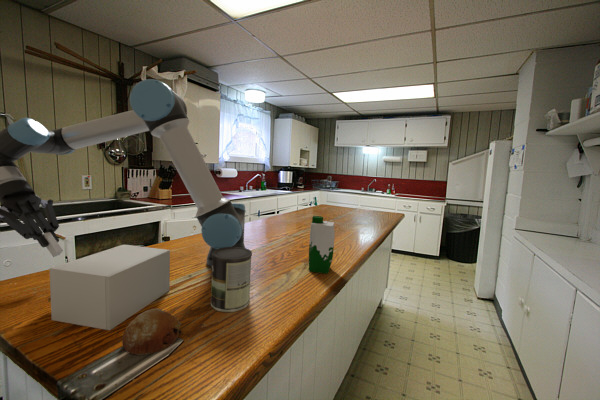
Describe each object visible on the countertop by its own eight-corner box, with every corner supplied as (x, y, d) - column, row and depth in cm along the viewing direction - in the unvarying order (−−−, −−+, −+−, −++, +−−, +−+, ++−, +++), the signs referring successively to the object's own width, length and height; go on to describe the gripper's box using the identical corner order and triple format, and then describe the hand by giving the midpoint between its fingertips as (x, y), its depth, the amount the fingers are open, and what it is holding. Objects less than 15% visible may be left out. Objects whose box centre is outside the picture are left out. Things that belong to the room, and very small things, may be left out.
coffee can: (204, 311, 68) (205, 256, 66) (218, 292, 78) (219, 245, 76) (244, 314, 67) (247, 259, 66) (253, 295, 78) (255, 247, 76)
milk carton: (309, 264, 106) (313, 214, 104) (332, 267, 105) (336, 216, 102) (305, 272, 98) (309, 218, 96) (330, 275, 96) (335, 220, 94)
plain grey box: (169, 290, 77) (169, 250, 76) (109, 330, 58) (108, 276, 56) (123, 283, 80) (123, 244, 78) (51, 319, 60) (49, 268, 59)
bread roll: (148, 340, 61) (132, 310, 60) (191, 323, 61) (176, 292, 60) (123, 374, 51) (104, 338, 50) (174, 352, 51) (156, 316, 50)
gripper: (33, 189, 84) (77, 251, 83) (-27, 198, 71) (24, 270, 71) (42, 175, 81) (88, 239, 81) (-19, 182, 69) (35, 257, 69)
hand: (58, 253), depth 76 cm, fingers closed
